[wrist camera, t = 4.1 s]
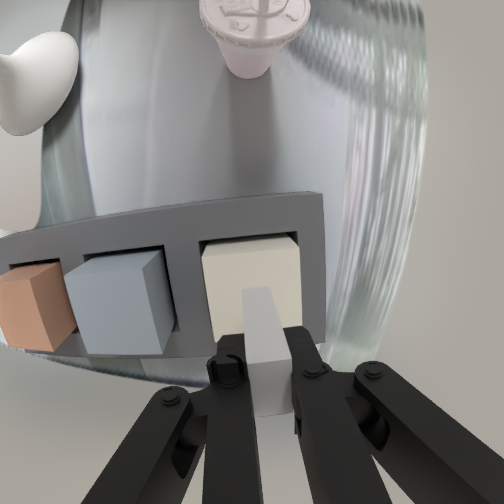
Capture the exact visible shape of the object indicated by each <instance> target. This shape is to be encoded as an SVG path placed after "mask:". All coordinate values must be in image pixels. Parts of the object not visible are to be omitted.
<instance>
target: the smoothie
mask: <svg viewBox="0 0 504 504" xmlns="http://www.w3.org/2000/svg"><path fill="white" fill-rule="evenodd" d="M199 8H200V18H201V21H202V24H203V26H204V27H205V28H206V29H207V31H208V32H209V33H210V34H211V35H212V36H214V37H215V40H216V42H217V44H218V46H219V49H220V51H221V53H222V55H223V58H224V60H225V62H226V65H227V67H228V69H229V70H230V72H231V73H233V74H234V75H235V76H237V77H240V78H243V79H253V78H257V77H259V76H261V75H263V74H264V73H265V72H266V71H267V69H268V68H269V67H270V65H271V64H272V62H273V61H274V60H275V58H276V57H277V56H278V54H279V53H280V52H281V50H282V49H283V48H284V46H285V45H286V44H287V43H288V42H291V41H292V40H294V39H295V38H296V37H297V36H299V35H300V34H301V33H302V31H303V30H304V28H305V26H306V25H307V20H308V18H309V15H310V2H309V0H200V1H199Z"/></svg>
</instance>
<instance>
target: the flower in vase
mask: <svg viewBox="0 0 504 504" xmlns="http://www.w3.org/2000/svg"><path fill="white" fill-rule="evenodd" d="M78 61H79V52H78V46H77V44H76V41H75V40H74V38H73V37H72V36H71V35H69V34H67V33H65V32H59V31H50V32H45V33H42V34H40V35H37V36H36V37H34V38H32V39H30V40H29V41H27V42H25V43H24V44H23V45H22V46H20V47H19V48H18V49H17V50H16V51H15V52H14V53H13V54H12V55H8V56H7V55H2V54H0V125H1V127H2V128H3V129H4V130H5V131H7V132H8V133H10V134H12V135H15V136H23V135H27V134H29V133H32V132H34V131H36V130H37V129H39V128H40V127H42V126H43V125H44V124H45V123H46V122H47V121H49V120H50V119H51V118H52V117H53V116H54V115H55V113H56V112H57V111H58V110H59V108H60V107H61V106H62V104H63V103H64V101H65V100H66V98H67V96H68V94H69V92H70V90H71V88H72V86H73V83H74V81H75V77H76V74H77V69H78Z"/></svg>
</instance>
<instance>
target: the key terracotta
mask: <svg viewBox="0 0 504 504" xmlns="http://www.w3.org/2000/svg"><path fill="white" fill-rule="evenodd" d="M0 326H1V328H2V331H3V333H4V336H5V339H6V341H7V343H8V346H9V347H12V348H21V349H30V350H40V351H51V352H54V351H55V350H56V349H57V348H58V347H59V345H60V344H61V343H62V342H63V341H64V340H65V339H66V338H67V337H68V336H69V335H70V334H71V333H72V332H73V330H74V329H75V328H76V327H77V326H78V325H77V321H76V318H75V315H74V312H73V309H72V305H71V302H70V299H69V295H68V291H67V288H66V284H65V280H64V275H63V271H62V267H61V262H60V261H56V262H48V263H41V264H33V265H25V266H19V267H17V268H15V269H13V270H11V271H9V272H7V273H5V274H3V275H1V276H0Z"/></svg>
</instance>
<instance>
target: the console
mask: <svg viewBox="0 0 504 504" xmlns="http://www.w3.org/2000/svg"><path fill="white" fill-rule="evenodd" d="M279 232H288V236H289V237H290V238H291V239H292V240H293V241H294V242H295V243H296V244H297V245H298V246H299V251H300V271H301V297H302V326H303V327H304V328H306V329H307V330H309V333H310V335H311V337H312V339H313V341H314V344H318V343H324V342H325V328H326V266H325V233H324V212H323V196H322V193H316V192H310V191H306V192H292V193H279V194H267V195H256V196H246V197H236V198H226V199H217V200H208V201H200V202H191V203H184V204H176V205H168V206H161V207H154V208H147V209H141V210H134V211H128V212H121V213H115V214H109V215H104V216H98V217H92V218H87V219H81V220H76V221H71V222H65V223H60V224H55V225H51V226H46V227H41V228H36V229H32V230H27V231H23V232H18V233H14V234H11V235H8V236H5V237H3V238H0V276H1V275H3V274H5V273H7V272H9V271H11V270H13V269H15V268H17V267H19V266H25V265H33V264H34V263H33V261H38V260H45V259H52V258H60V262H61V267H62V271H63V275H66V274H67V273H69V272H71V271H72V270H74V269H75V268H77V267H79V266H80V265H82V264H83V263H85V262H87V261H88V260H90V259H92V258H93V257H97V256H105V252H107V251H115V250H123V249H131V248H140V247H148V246H157V245H164V248H165V254H166V260H167V266H168V272H169V277H170V283H171V288H172V293H173V298H174V303H175V308H176V311H174V316H175V323H174V326H173V328H172V331H171V333H170V336H169V338H168V341H167V344H166V346H165V349H164V351H163V354H147V355H115V354H88V353H87V350H86V347H85V345H84V342H83V339H82V336H81V333H80V330H79V328H78V326H77V327H76V328H75V329H74V330H73V332H72V333H71V334H70V335H69V336H68V337H67V338H66V339H65V340H64V341H63V342H62V343H61V344H60V345H59V347H58V348H57V349H56V350H55V351H54V352H51V351H40V350H30V349H25V351H26V352H28V353H37V354H47V355H59V356H73V357H91V358H181V357H201V356H215V355H216V354H217V343H218V342H215V340H214V334H213V328H212V322H211V317H210V310H209V304H208V298H207V292H206V285H205V278H204V272H203V265H202V258H201V257H202V255H203V253H204V250H205V248H206V243H205V240H211V239H220V238H230V237H239V236H249V235H259V234H269V233H279Z"/></svg>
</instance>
